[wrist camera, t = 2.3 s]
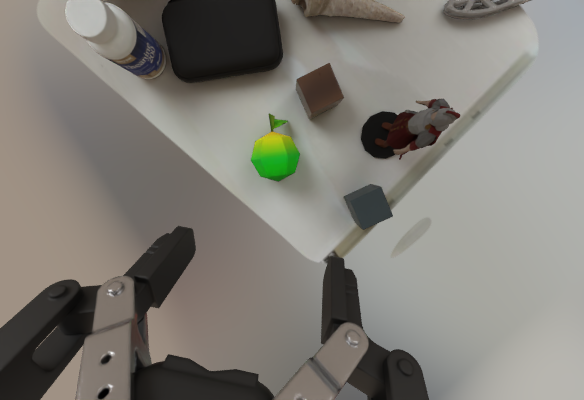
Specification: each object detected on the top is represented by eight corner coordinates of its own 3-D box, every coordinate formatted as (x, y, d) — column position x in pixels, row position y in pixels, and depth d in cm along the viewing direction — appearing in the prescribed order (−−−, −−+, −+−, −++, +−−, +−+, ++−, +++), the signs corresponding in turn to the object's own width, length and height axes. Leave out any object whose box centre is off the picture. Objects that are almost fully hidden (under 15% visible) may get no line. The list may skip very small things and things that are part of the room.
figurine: (372, 103, 33) (440, 56, 18) (418, 123, 33) (520, 92, 19) (353, 148, 34) (403, 138, 19) (397, 166, 34) (479, 170, 20)
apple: (279, 184, 27) (266, 105, 26) (246, 186, 31) (233, 118, 30) (313, 175, 32) (305, 109, 31) (281, 178, 37) (272, 119, 35)
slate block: (343, 196, 35) (350, 201, 31) (370, 183, 35) (381, 186, 31) (354, 222, 36) (363, 230, 32) (381, 210, 35) (393, 216, 31)
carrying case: (272, -15, 30) (163, 3, 31) (270, -35, 27) (149, -14, 28) (285, 71, 32) (181, 88, 32) (284, 62, 29) (170, 80, 29)
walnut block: (295, 89, 32) (296, 79, 28) (324, 74, 32) (329, 62, 28) (309, 119, 33) (311, 113, 29) (337, 105, 33) (344, 97, 29)
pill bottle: (149, 88, 32) (89, 57, 23) (120, 57, 32) (45, 12, 22) (175, 61, 32) (125, 17, 22) (146, 28, 31) (82, -31, 21)
